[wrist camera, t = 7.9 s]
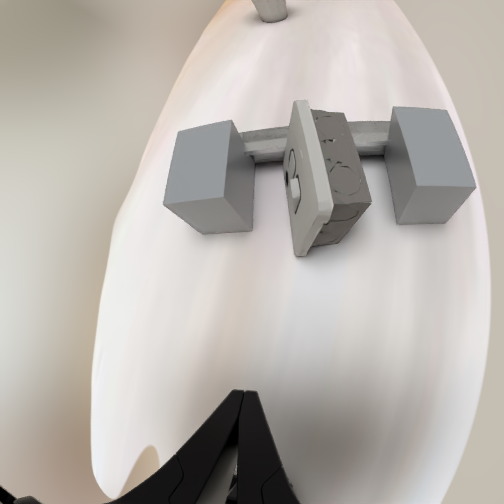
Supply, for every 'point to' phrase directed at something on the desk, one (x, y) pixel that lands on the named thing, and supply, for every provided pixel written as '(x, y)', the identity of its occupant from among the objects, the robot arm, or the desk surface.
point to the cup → (271, 10)
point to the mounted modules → (243, 170)
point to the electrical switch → (322, 178)
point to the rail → (363, 132)
